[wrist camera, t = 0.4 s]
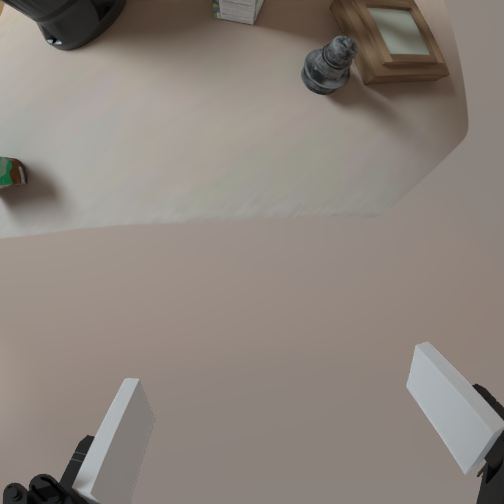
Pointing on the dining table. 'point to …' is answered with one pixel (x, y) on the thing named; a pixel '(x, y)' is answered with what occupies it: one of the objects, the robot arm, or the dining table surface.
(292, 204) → the dining table surface
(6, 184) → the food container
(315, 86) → the salt shaker
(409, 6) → the display pedestal
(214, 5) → the syrup box
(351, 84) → the dining table surface
